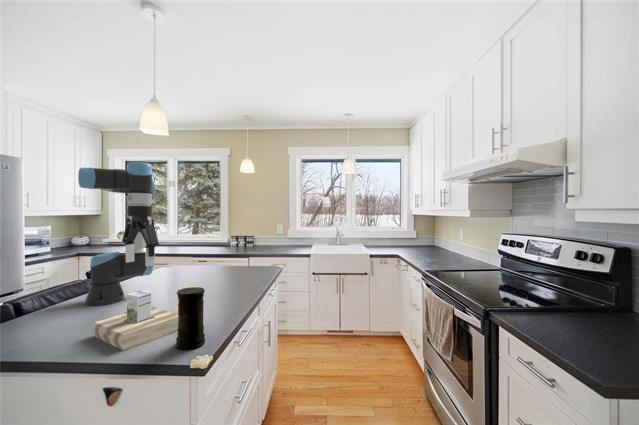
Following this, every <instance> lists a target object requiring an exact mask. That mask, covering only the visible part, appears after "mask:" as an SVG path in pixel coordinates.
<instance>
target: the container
mask: <svg viewBox="0 0 639 425" xmlns="http://www.w3.org/2000/svg"><path fill="white" fill-rule="evenodd" d="M205 291H206V290H205V288H203V287H201V288H200V287H190V288H184V289H180V290H178V289H177V292H176V295H177V298H178V299H177V301H178V300H179V303H177V306H178V307H177V308H178V309H177V314H178V329H177V331H176V332H177V337H176V338H175V339H176V340H175V341H176V343H175V347H176V349H177V350H180V351H191V350H196V349H199V348H200V347H202V346H204V344H205V342H206V338H205V337H206V336H205V335H206V334H205V332H204V331H205V330H204V329H205V326H204V303H205V301H204V296H205Z"/></svg>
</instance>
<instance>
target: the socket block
mask: <svg viewBox="0 0 639 425" xmlns="http://www.w3.org/2000/svg"><path fill="white" fill-rule="evenodd" d="M93 326H94V332H93V334H94V336H93V337H95V338H97V339H99V340H101V341H103V342H105V343H106V344H109V345H110V346H113V347H115V348H117V349H119V350H121V351H126V350H129V349H131V348H134V347H137V346H139V345H142V344H144V343H148V342H150V341H152V340H153V341H154V340H156V339H158V338H161V337H163V336H166V335H169V334H173V333H174V332H178V331H177V329H178V313H175V312H172V311H168V310H165V309H161V308H158V307H156V306H151V319H149V320H146V321H143V322H140V323H136V324H132V323H129V322H127V313H126V314H125V313H122V314H119V315H115V316H112V317H108V318H105V319H104V318H103V319H101V320H100V319H99V320H96V321H94V324H93Z"/></svg>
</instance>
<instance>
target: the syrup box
mask: <svg viewBox="0 0 639 425" xmlns="http://www.w3.org/2000/svg"><path fill="white" fill-rule="evenodd" d="M151 307H152V292H151V291H145V290H137V291H133V292H129V293H127V294H126V312H127V322H129V323H132V324H136V323H140V322H143V321H146V320H149V319H151Z"/></svg>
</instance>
